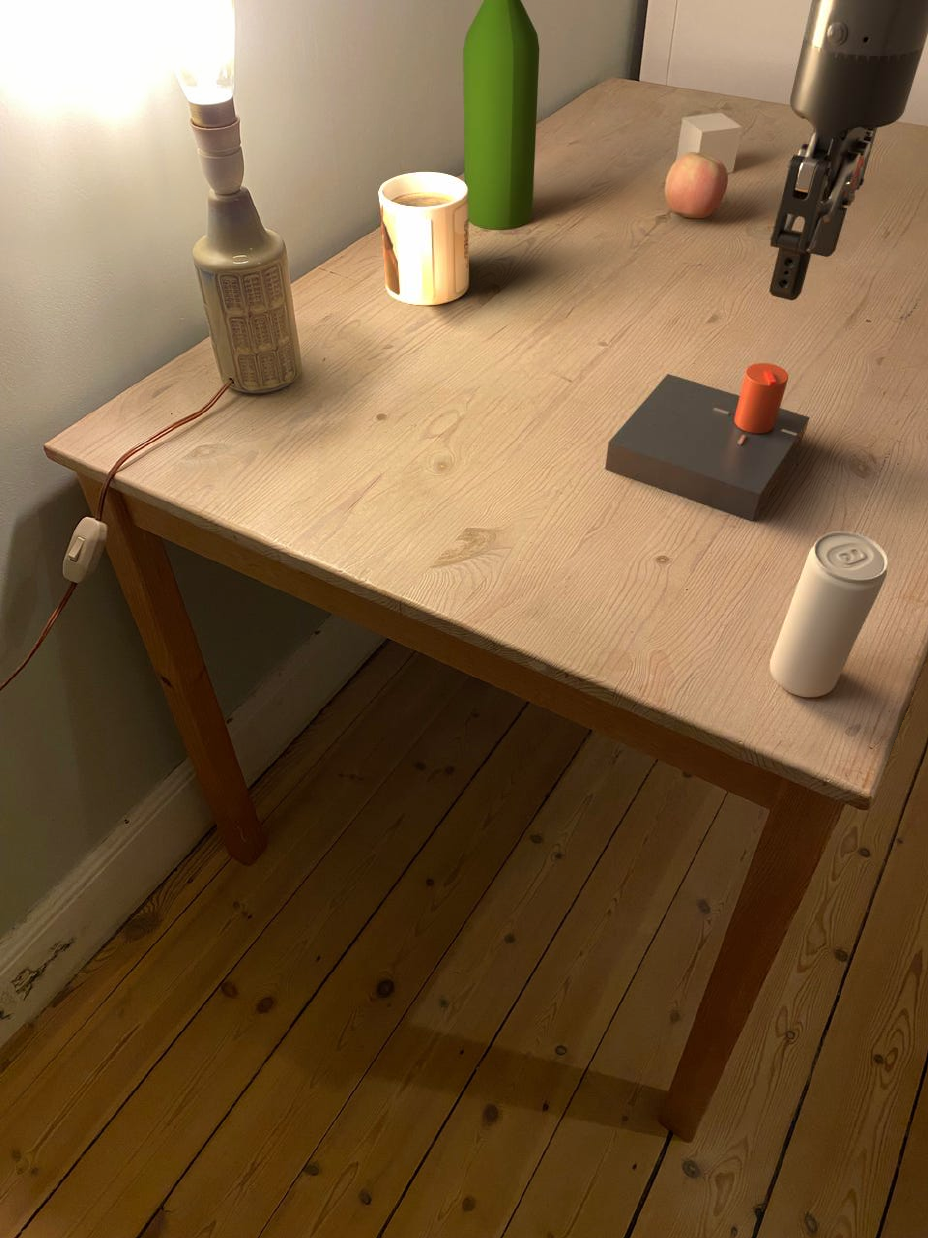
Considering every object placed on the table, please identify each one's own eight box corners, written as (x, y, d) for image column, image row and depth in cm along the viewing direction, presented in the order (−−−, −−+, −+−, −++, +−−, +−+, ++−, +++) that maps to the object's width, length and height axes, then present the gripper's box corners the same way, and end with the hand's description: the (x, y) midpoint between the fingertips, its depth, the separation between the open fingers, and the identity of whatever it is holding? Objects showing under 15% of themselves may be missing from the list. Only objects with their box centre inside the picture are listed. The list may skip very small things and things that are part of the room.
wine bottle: (546, 214, 120) (563, -96, 97) (501, 236, 116) (507, -82, 92) (496, 195, 125) (500, -105, 101) (450, 216, 120) (444, -93, 96)
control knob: (730, 411, 84) (742, 360, 80) (768, 410, 84) (782, 358, 80) (739, 434, 81) (752, 382, 78) (779, 433, 81) (794, 381, 78)
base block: (802, 441, 86) (811, 413, 83) (752, 521, 78) (760, 492, 76) (664, 398, 91) (669, 370, 89) (604, 468, 83) (608, 440, 81)
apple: (725, 231, 116) (738, 166, 110) (664, 231, 116) (674, 166, 111) (714, 205, 122) (726, 141, 116) (657, 205, 122) (666, 141, 116)
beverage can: (754, 663, 67) (795, 542, 58) (806, 642, 68) (854, 521, 60) (796, 711, 64) (846, 591, 55) (850, 688, 65) (908, 567, 57)
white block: (694, 177, 128) (702, 131, 124) (675, 162, 132) (682, 117, 128) (733, 172, 129) (741, 126, 125) (713, 156, 133) (721, 111, 129)
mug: (490, 281, 108) (491, 184, 100) (431, 324, 101) (427, 225, 93) (418, 258, 112) (413, 164, 104) (357, 299, 105) (347, 201, 97)
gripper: (895, 71, 54) (821, 325, 65) (950, 15, 62) (876, 250, 74) (771, 53, 57) (722, 299, 68) (840, 2, 65) (785, 229, 77)
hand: (802, 273), depth 71 cm, fingers open, 8 cm apart
